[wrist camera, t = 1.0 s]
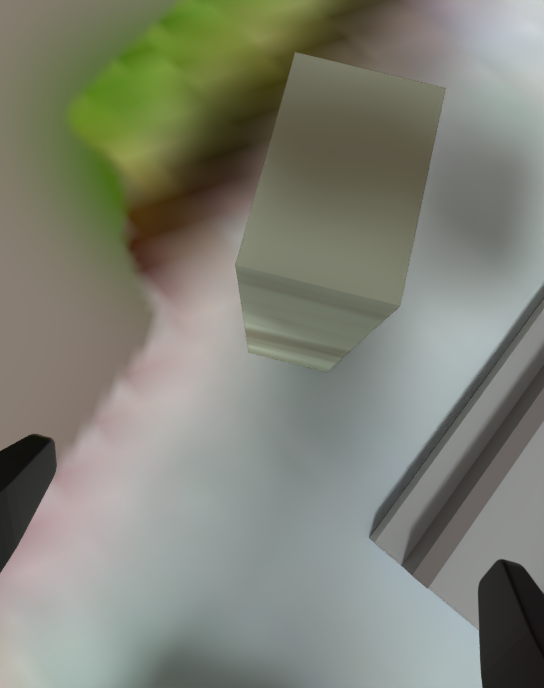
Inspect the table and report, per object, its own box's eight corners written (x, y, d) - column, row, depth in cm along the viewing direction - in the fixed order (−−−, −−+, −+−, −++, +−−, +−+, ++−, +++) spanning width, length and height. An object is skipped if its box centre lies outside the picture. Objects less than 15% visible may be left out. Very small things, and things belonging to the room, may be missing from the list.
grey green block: (326, 372, 23) (400, 306, 11) (248, 352, 23) (235, 264, 11) (352, 260, 24) (445, 88, 12) (277, 242, 25) (295, 52, 12)
